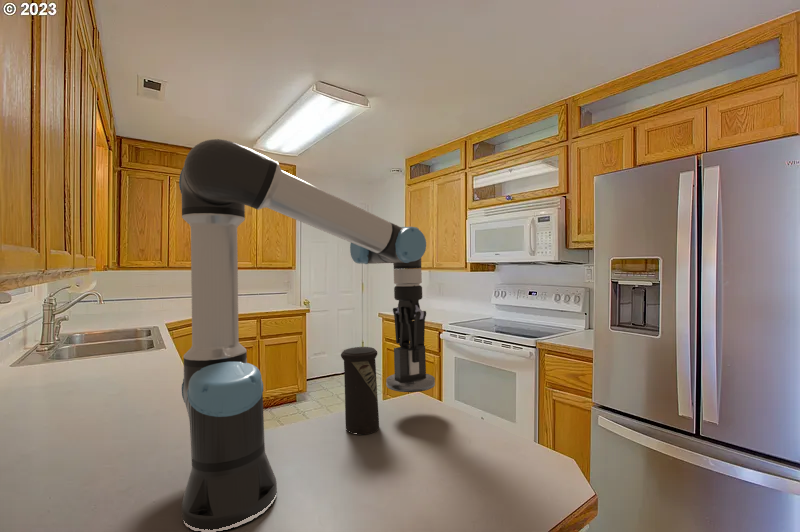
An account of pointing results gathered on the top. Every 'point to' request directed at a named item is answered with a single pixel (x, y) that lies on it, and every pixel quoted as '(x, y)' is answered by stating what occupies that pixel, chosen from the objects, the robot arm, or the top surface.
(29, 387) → the top surface
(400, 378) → the lid
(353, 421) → the container
